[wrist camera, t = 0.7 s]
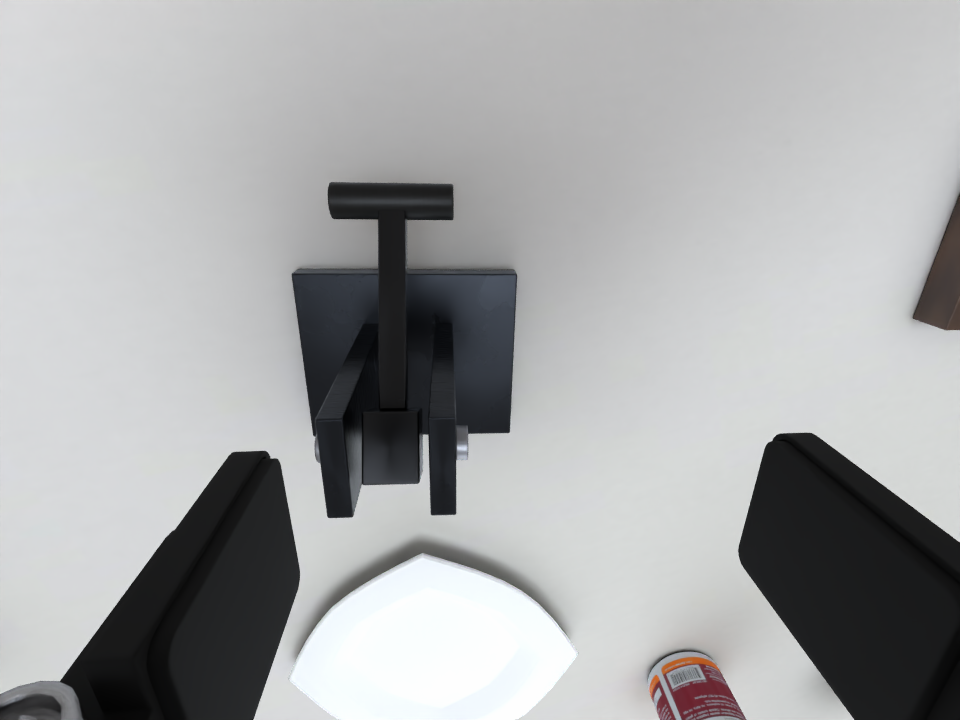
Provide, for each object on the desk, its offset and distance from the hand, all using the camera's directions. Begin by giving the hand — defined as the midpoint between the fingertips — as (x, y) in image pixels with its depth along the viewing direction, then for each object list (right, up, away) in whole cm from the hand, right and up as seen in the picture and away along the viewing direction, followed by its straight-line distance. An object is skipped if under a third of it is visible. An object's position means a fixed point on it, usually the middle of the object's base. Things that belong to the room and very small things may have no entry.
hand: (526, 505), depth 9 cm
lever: (-4, +4, +12) cm, 13 cm away
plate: (-4, -20, +30) cm, 36 cm away
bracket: (-5, +3, +20) cm, 20 cm away
